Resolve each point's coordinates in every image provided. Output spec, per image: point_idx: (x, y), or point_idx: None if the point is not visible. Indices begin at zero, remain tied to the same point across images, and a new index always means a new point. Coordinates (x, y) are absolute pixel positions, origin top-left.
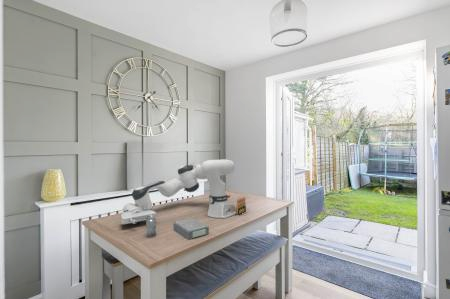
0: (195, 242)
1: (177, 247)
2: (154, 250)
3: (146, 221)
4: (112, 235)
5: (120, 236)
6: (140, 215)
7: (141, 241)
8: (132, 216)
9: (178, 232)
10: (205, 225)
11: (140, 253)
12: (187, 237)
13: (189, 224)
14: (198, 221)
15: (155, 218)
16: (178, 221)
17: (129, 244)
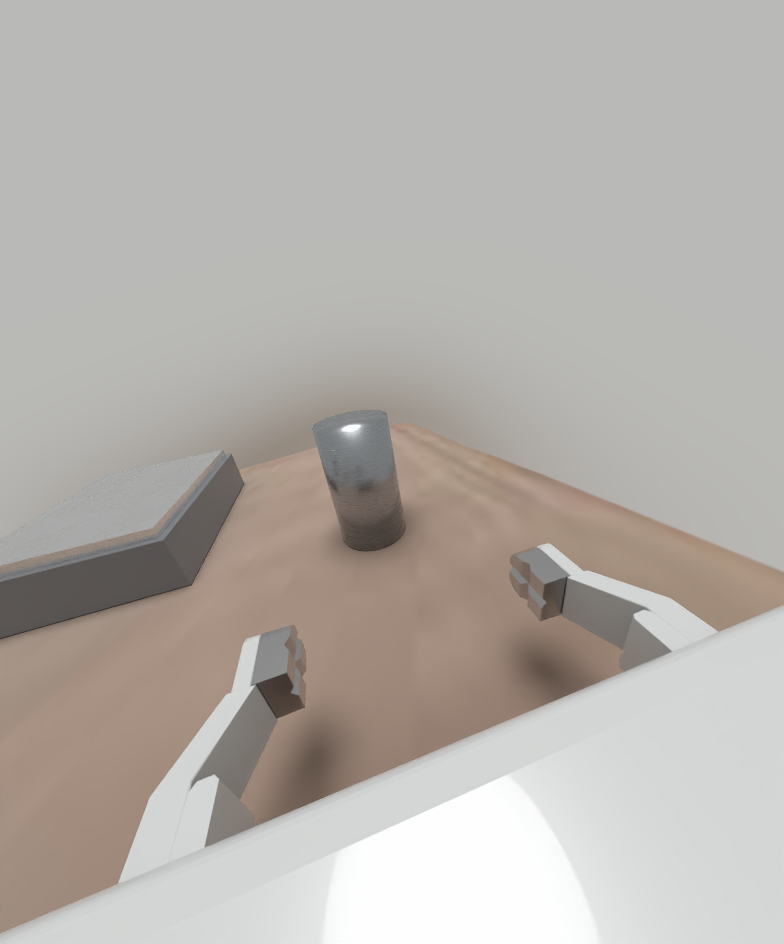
0: (241, 470)
1: (313, 455)
2: None
3: (388, 425)
4: (733, 578)
5: (612, 547)
6: (480, 738)
7: (432, 485)
8: (707, 678)
9: (215, 531)
10: (113, 475)
11: (431, 438)
12: (239, 479)
13: (147, 485)
14: (51, 512)
15: (315, 426)
16: (128, 527)
17: (487, 471)
